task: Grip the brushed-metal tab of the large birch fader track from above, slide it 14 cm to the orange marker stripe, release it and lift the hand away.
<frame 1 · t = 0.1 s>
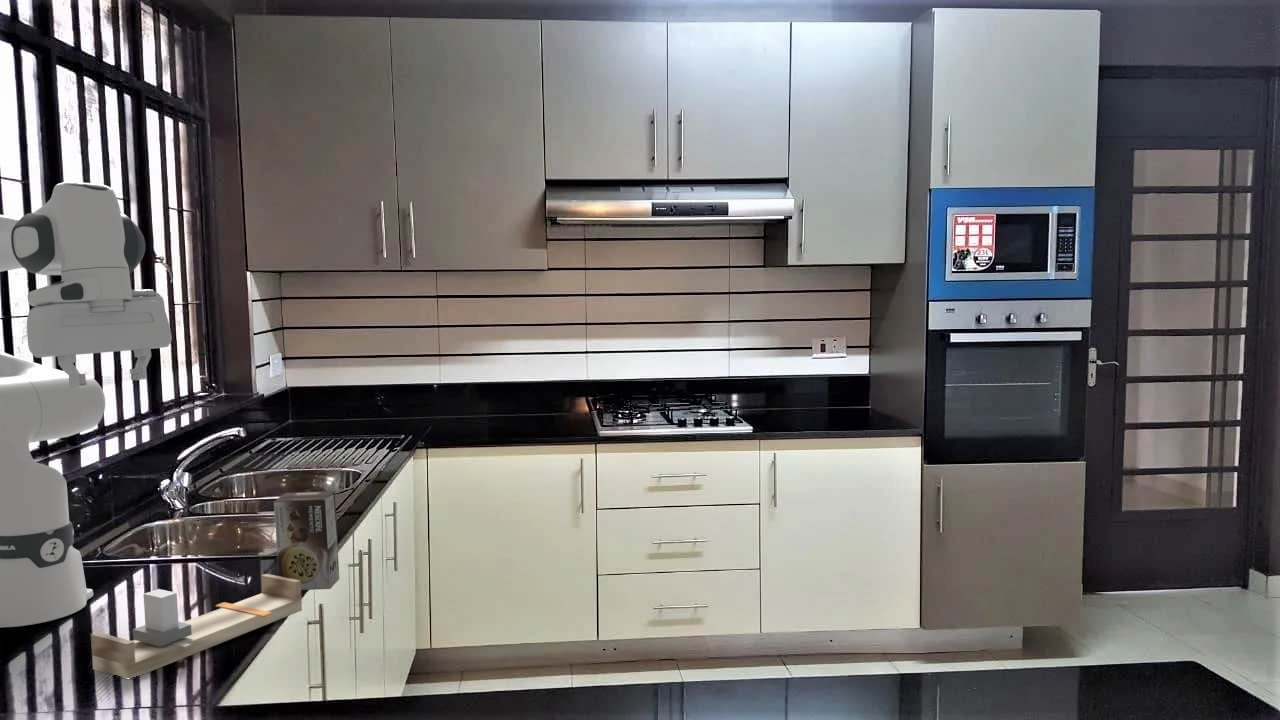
hand: (109, 383, 143), 39 cm above the counter, tool pointing down, fingers open, 8 cm apart
coffee box: (309, 586, 169), on the counter
fader track: (205, 637, 145), on the counter
fader tab: (161, 615, 138), point 6 cm above the counter, slide at -7.0 cm
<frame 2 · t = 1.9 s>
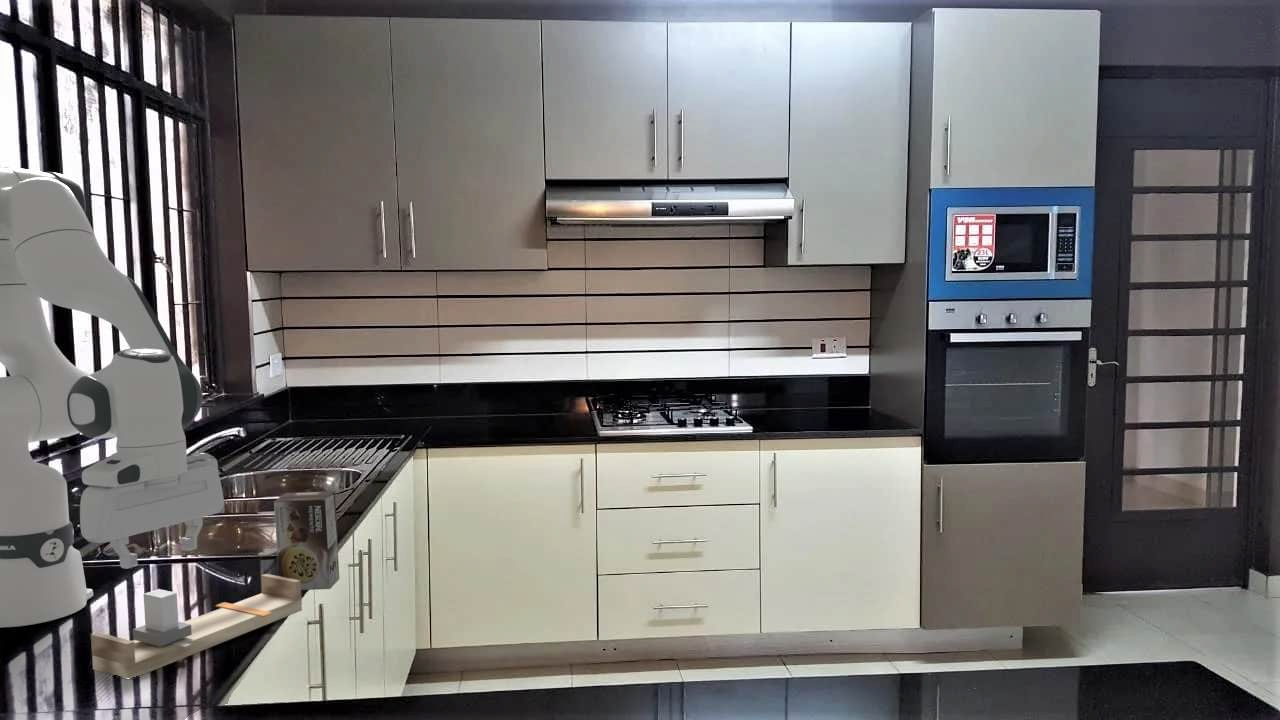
hand: (160, 558, 137), 14 cm above the counter, tool pointing down, fingers open, 8 cm apart
nothing on the counter moved.
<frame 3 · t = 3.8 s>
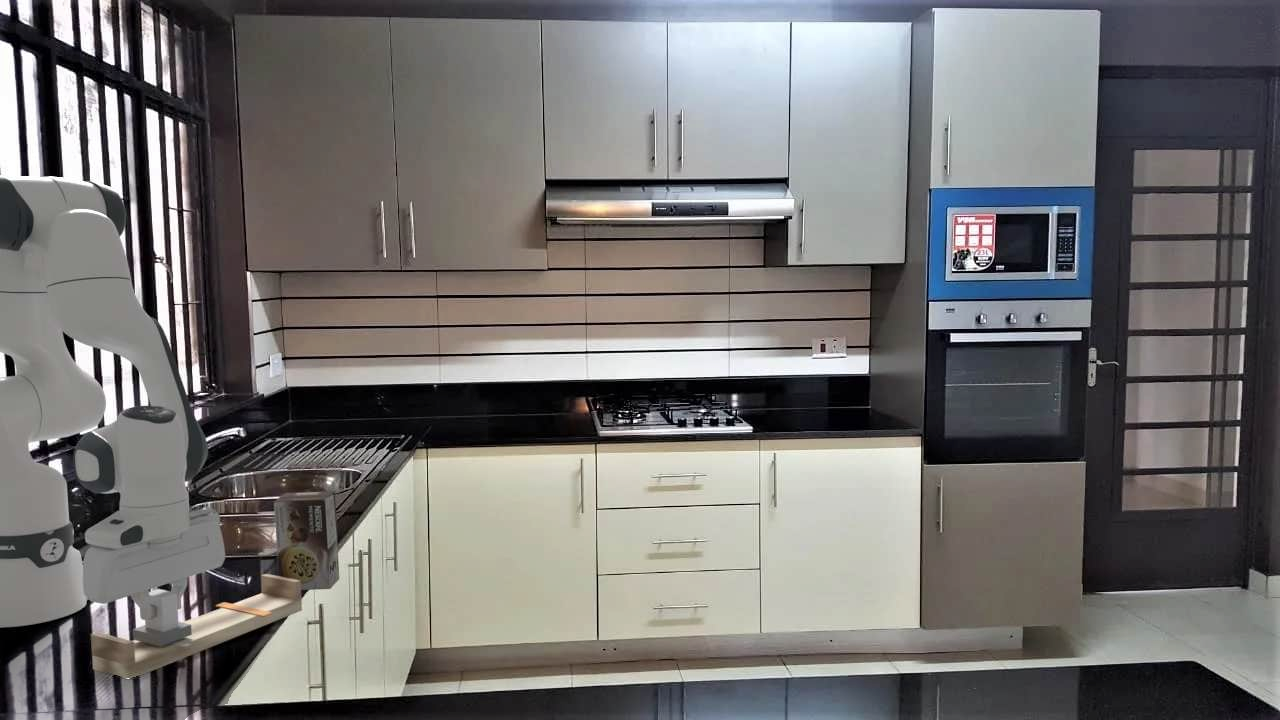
hand: (161, 614, 138), 6 cm above the counter, tool pointing down, fingers closed on fader tab, 2 cm apart
fader tab: (161, 615, 138), point 6 cm above the counter, slide at -7.0 cm, touching gripper
everything else where it was.
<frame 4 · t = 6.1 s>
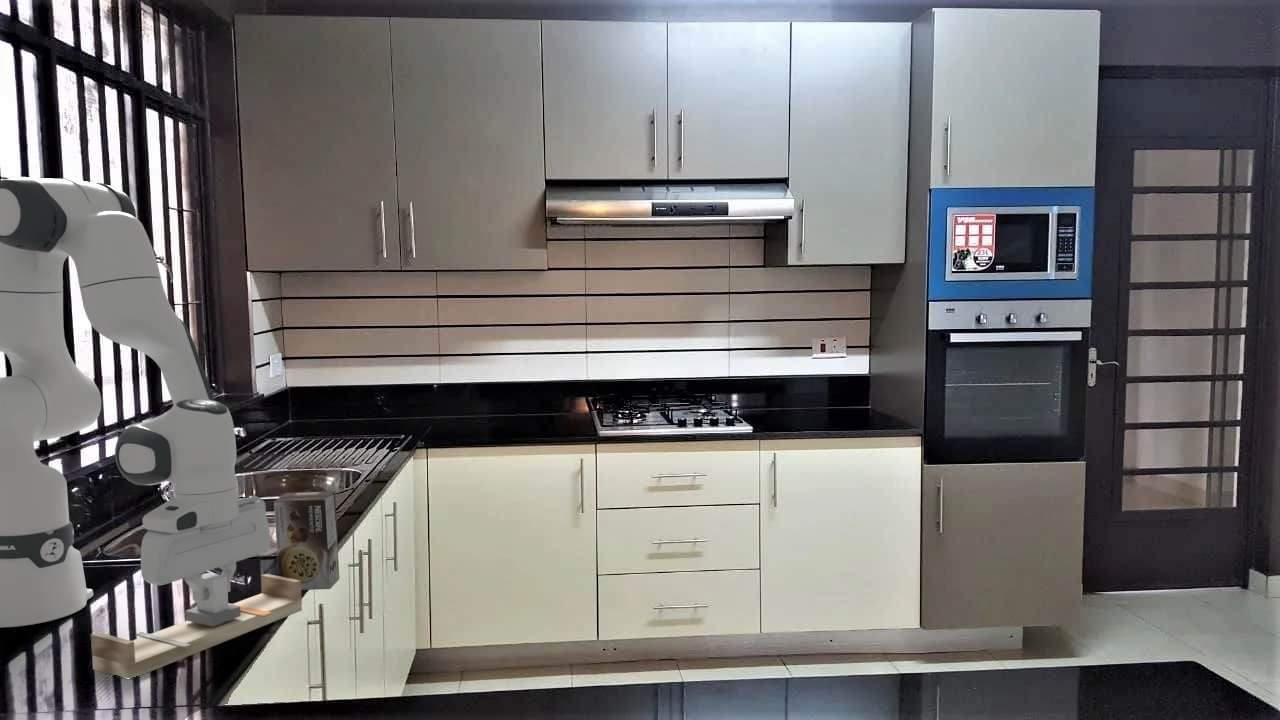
hand: (212, 596, 146), 6 cm above the counter, tool pointing down, fingers closed on fader tab, 2 cm apart
fader tab: (212, 597, 146), point 6 cm above the counter, slide at 1.5 cm, touching gripper
everything else where it was.
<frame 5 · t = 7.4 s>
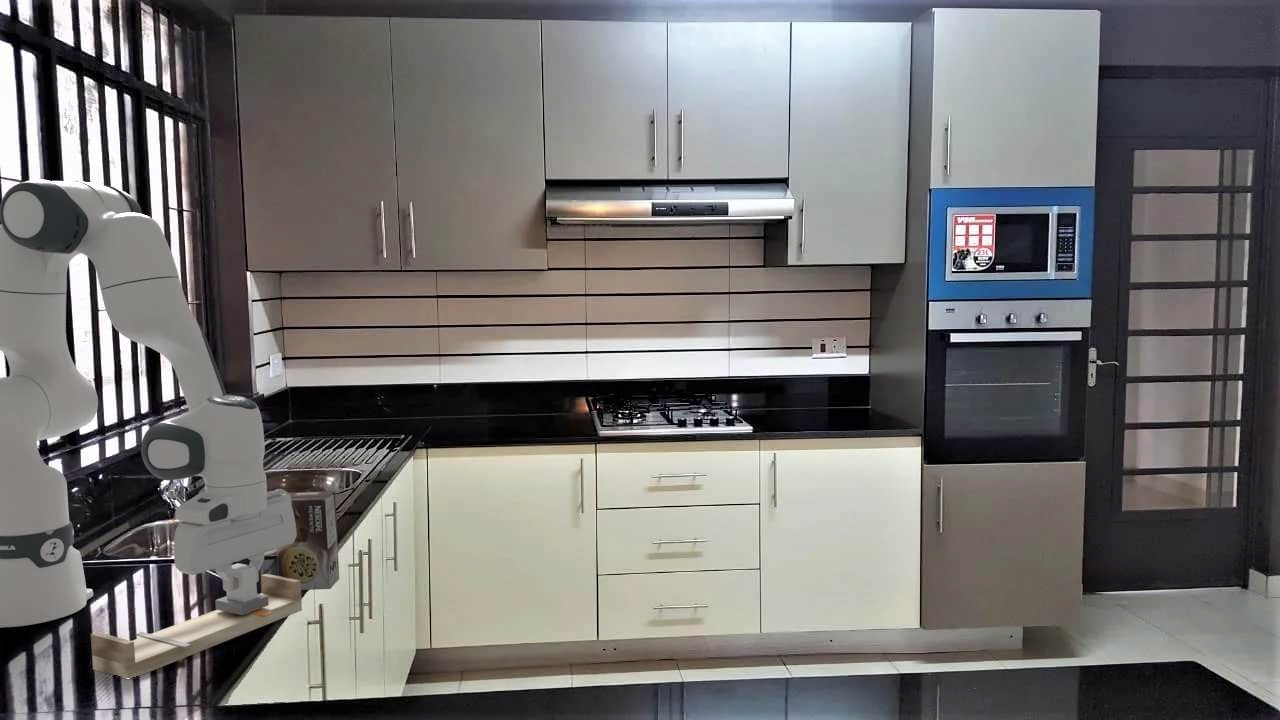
hand: (241, 586, 150), 6 cm above the counter, tool pointing down, fingers closed on fader tab, 2 cm apart
fader tab: (241, 587, 150), point 6 cm above the counter, slide at 6.8 cm, touching gripper
everything else where it was.
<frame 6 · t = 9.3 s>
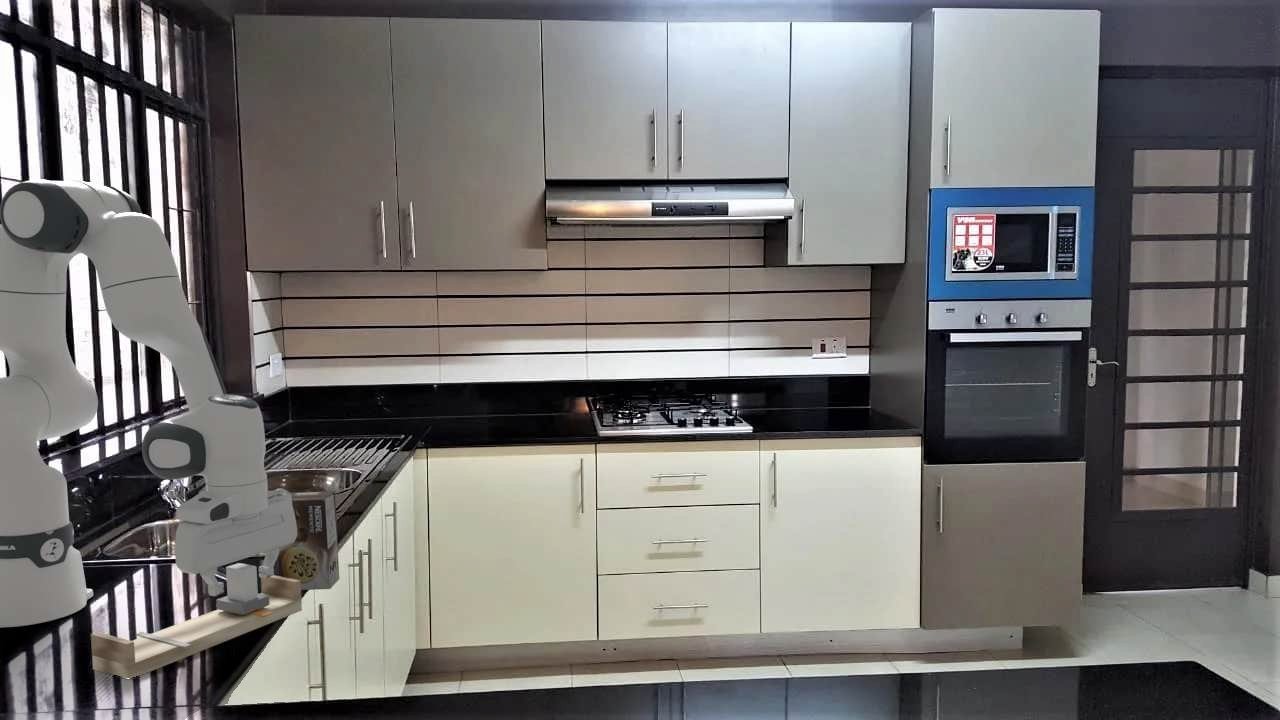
hand: (242, 585, 151), 6 cm above the counter, tool pointing down, fingers open, 8 cm apart
fader tab: (242, 586, 151), point 6 cm above the counter, slide at 7.0 cm
everything else where it was.
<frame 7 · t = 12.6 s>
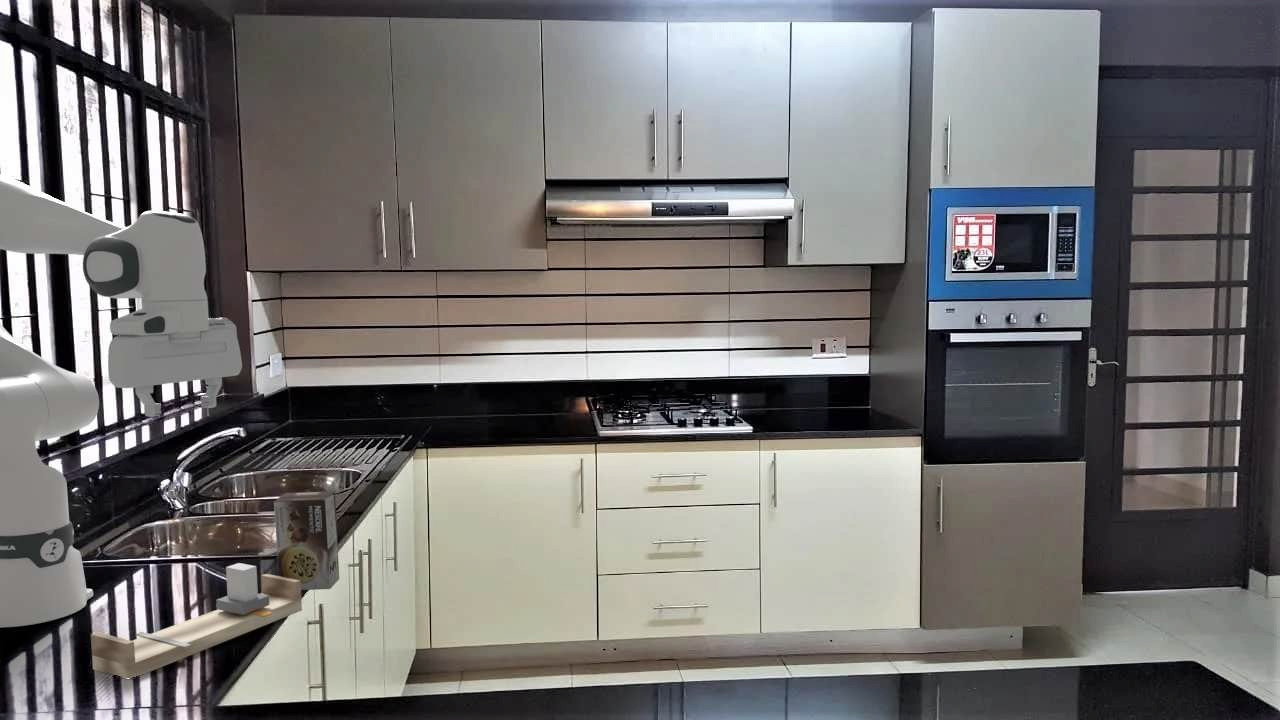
hand: (181, 411, 145), 34 cm above the counter, tool pointing down, fingers open, 8 cm apart
nothing on the counter moved.
at the end: fader tab slide at 7.0 cm; the gripper is holding nothing; coffee box moved 0.2 cm from its start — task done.
